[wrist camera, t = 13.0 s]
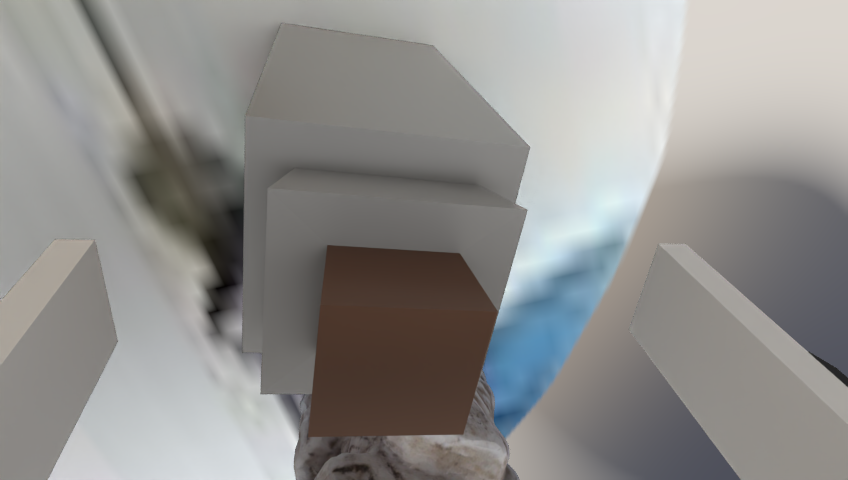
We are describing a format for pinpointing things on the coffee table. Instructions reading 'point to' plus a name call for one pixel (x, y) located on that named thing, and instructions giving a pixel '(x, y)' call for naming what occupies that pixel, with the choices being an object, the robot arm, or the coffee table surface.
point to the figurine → (409, 451)
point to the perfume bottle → (375, 231)
